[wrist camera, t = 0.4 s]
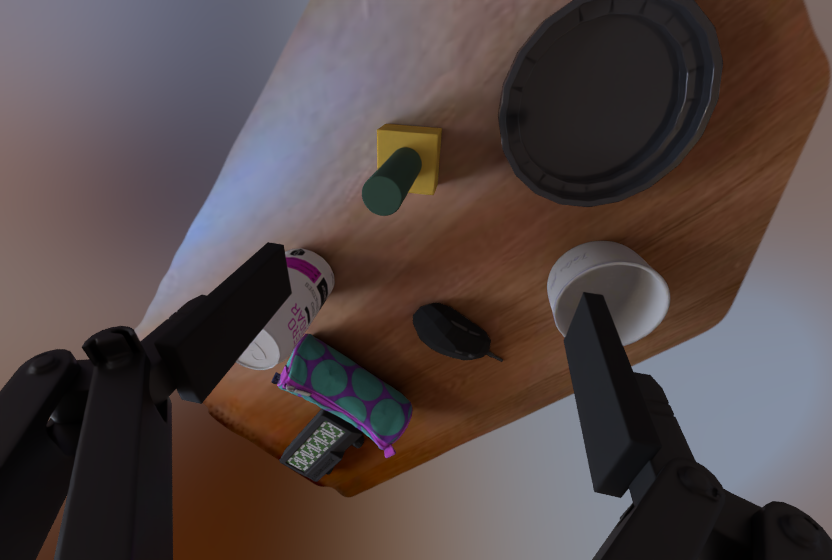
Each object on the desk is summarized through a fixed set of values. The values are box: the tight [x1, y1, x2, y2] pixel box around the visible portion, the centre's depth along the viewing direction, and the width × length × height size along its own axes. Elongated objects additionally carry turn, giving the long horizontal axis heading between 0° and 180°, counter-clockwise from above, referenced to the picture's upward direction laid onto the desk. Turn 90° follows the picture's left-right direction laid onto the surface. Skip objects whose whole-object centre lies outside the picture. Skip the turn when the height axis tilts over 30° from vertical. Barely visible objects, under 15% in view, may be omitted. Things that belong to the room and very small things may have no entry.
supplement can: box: [236, 249, 335, 370], centre depth 44 cm, size 8×8×15 cm
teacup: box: [547, 241, 670, 346], centre depth 40 cm, size 14×11×8 cm
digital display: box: [280, 409, 365, 482], centre depth 70 cm, size 21×3×10 cm
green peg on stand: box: [362, 124, 442, 216], centre depth 33 cm, size 6×6×14 cm
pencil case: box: [272, 334, 412, 458], centre depth 55 cm, size 21×9×10 cm, turn 54°
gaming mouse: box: [413, 303, 503, 362], centre depth 49 cm, size 6×15×4 cm, turn 57°
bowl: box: [498, 0, 723, 207], centre depth 32 cm, size 17×17×4 cm
